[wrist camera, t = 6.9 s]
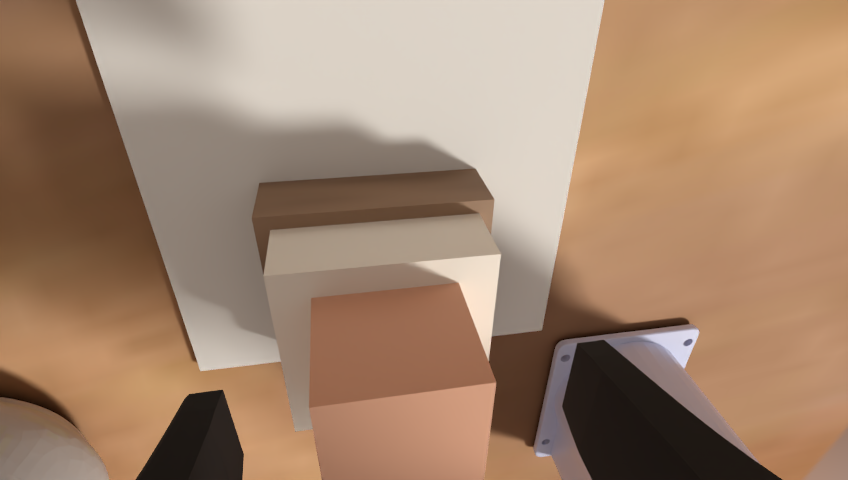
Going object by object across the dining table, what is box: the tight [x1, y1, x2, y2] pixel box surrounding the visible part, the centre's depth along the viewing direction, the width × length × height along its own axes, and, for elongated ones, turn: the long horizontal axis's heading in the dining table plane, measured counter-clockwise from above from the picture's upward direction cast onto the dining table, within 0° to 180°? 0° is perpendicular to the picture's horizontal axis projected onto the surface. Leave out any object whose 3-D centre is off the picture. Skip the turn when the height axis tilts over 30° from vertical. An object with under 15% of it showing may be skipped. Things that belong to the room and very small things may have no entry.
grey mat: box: [76, 0, 604, 371], centre depth 18 cm, size 20×16×1 cm
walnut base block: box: [252, 169, 495, 275], centre depth 20 cm, size 8×8×2 cm
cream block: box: [263, 213, 501, 432], centre depth 18 cm, size 7×7×2 cm
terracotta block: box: [309, 283, 496, 480], centre depth 15 cm, size 4×4×4 cm
